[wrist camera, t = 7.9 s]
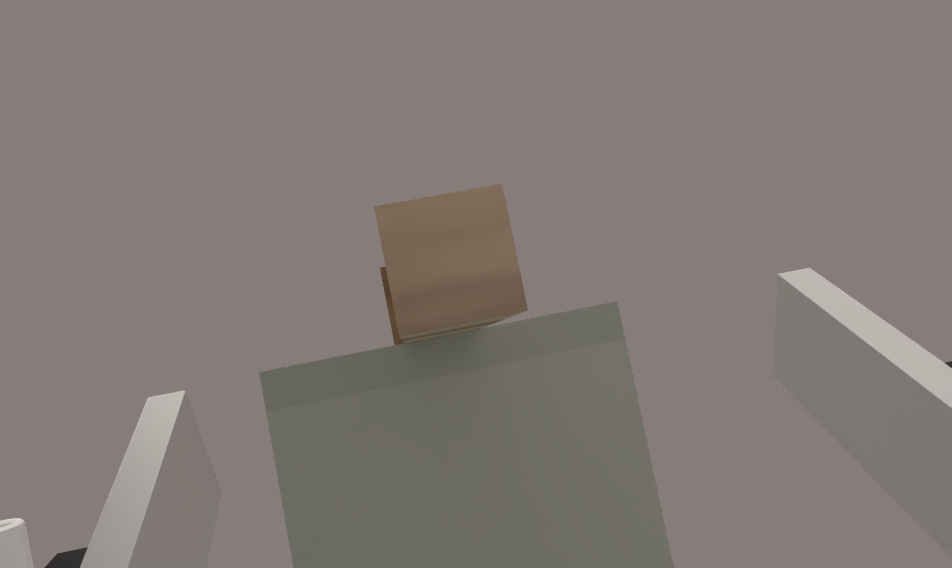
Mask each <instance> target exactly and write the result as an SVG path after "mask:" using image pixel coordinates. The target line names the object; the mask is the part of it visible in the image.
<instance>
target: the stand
mask: <svg viewBox="0 0 952 568" xmlns="http://www.w3.org/2000/svg"><path fill="white" fill-rule="evenodd" d="M259 374H260V379H261V385H262V391H263V397H264V403H265V408H266V414H267V419H268V425H269V430H270V436H271V442H272V448H273V453H274V459H275V465H276V471H277V476H278V482H279V488H280V493H281V499H282V504H283V510H284V516H285V522H286V528H287V533H288V539H289V545H290V550H291V556H292V562H293V566H294V568H674V566H673V561H672V557H671V552H670V547H669V542H668V538H667V533H666V528H665V524H664V519H663V514H662V509H661V505H660V500H659V496H658V491H657V486H656V481H655V477H654V472H653V467H652V463H651V458H650V454H649V449H648V444H647V439H646V435H645V430H644V425H643V420H642V416H641V411H640V407H639V402H638V397H637V392H636V388H635V383H634V379H633V374H632V369H631V364H630V360H629V355H628V350H627V346H626V341H625V337H624V331H623V327H622V322H621V318H620V313H619V308H618V303H617V302H612V303H607V304H602V305H597V306H592V307H587V308H582V309H577V310H572V311H566V312H561V313H556V314H551V315H546V316H541V317H536V318H531V319H526V320H521V321H516V322H511V323H506V324H501V325H496V326H491V327H486V328H481V329H476V330H470V331H465V332H460V333H455V334H450V335H445V336H440V337H435V338H430V339H425V340H420V341H415V342H410V343H405V344H400V345H395V346H390V347H384V348H379V349H374V350H370V351H365V352H359V353H354V354H349V355H344V356H339V357H334V358H329V359H324V360H319V361H314V362H309V363H304V364H298V365H293V366H288V367H283V368H278V369H273V370H268V371H263V372H259Z"/></svg>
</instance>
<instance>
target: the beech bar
mask: <svg viewBox="0 0 952 568" xmlns="http://www.w3.org/2000/svg"><path fill="white" fill-rule="evenodd" d="M374 208H375V212H376V218H377V223H378V229H379V234H380V239H381V244H382V249H383V254H384V260H385V265H386V267H382V268H380V270H381V275H382V281H383V286H384V291H385V296H386V302H387V307H388V312H389V317H390V322H391V328H392V333H393V338H394V344H395V345H400V344H405V343H410V342H415V341H420V340H425V339H430V338H435V337H440V336H445V335H450V334H455V333H460V332H465V331H470V330H476V329H481V328H483V327H486V326H488V325H491V324H494V323H496V322H498V321H501V320H504V319H506V318H509V317H511V316H514V315H517V314H519V313H522V312H525V311H527V310H528V309H527V304H526V300H525V294H524V289H523V284H522V279H521V274H520V270H519V265H518V260H517V255H516V250H515V245H514V240H513V236H512V230H511V226H510V220H509V216H508V211H507V206H506V201H505V196H504V191H503V186H502V184H499V185H493V186H488V187H482V188H476V189H470V190H465V191H459V192H453V193H448V194H443V195H437V196H431V197H425V198H420V199H415V200H409V201H403V202H398V203H392V204H386V205H381V206H375V207H374Z"/></svg>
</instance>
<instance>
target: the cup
mask: <svg viewBox="0 0 952 568" xmlns="http://www.w3.org/2000/svg"><path fill="white" fill-rule="evenodd" d="M0 568H34V567H33V563H32V557H31V552H30V547H29V542H28V537H27V531H26V526H25V522H24V521H23V520H22V519H19V518H16V519H8V520H2V521H0Z"/></svg>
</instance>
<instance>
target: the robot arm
mask: <svg viewBox="0 0 952 568" xmlns="http://www.w3.org/2000/svg"><path fill="white" fill-rule="evenodd" d="M772 377H773V378H774V379H775V380H776V381H777V382H778V383H779V384H780V385H781V386H782V387H783V388H784V389H785V390H786V391H787V392H788V393H789V394H790V395H791V396H792V397H793V398H794V399H795V400H796V401H797V402H798V403H799V404H800V405H801V406H802V407H803V408H804V409H805V410H806V412H808V413H809V415H811V417H812V418H814V420H815V421H816V422H817V423H818V424H819V425H820V426H821V427H822V428H823V429H824V430H825V431H826V432H827V433H828V434H829V435H830V436H831V437H832V438H833V439H834V440H835V441H836V442H837V443H838V444H839V445H840V446H841V447H842V448H843V449H844V450H845V451H846V452H847V453H848V454H849V455H850V456H851V457H852V458H853V459H854V460H855V461H856V462H857V463H858V464H859V465H860V466H861V467H862V468H863V469H864V470H865V471H866V472H867V473H868V474H869V475H870V476H871V477H872V479H873V480H874V481H875V482H876V483H877V484H878V485H879V486H880V487H881V488H882V489H883V490H884V491H886V493H887V494H888V495H889V496H890V497H891V498H892V499H893V500H894V501H895V502H896V503H897V504H898V505H899V506H900V507H901V508H902V509H903V510H904V511H905V512H906V513H907V514H908V515H909V516H910V517H911V518H912V519H913V520H914V521H915V522H916V523H917V524H918V525H919V526H920V527H921V528H922V529H923V530H924V531H925V532H926V533H927V534H928V535H929V536H930V537H931V538H932V539H933V540H934V541H935V542H936V543H937V544H938V545H939V547H940V548H941V549H943V551H944V552H945V553H946V554H947V555H949V557H950V558H952V361H951V362H946V363H944V362H942V361H941V360H939V359H938V358H936V357H935V356H934V355H932V354H931V353H929V352H928V351H927V350H925V349H924V348H922V347H921V346H920V345H918V344H917V343H915V342H914V341H912V340H911V339H909V338H908V337H907V336H905V335H904V334H902V333H901V332H900V331H898V330H897V329H895V328H894V327H893V326H891V325H890V324H888V323H887V322H885V321H884V320H883V319H881V318H880V317H878V316H877V315H875V314H874V313H873V312H871V311H870V310H869V309H867V308H866V307H864V306H863V305H861V304H860V303H859V302H857V301H856V300H854V299H853V298H852V297H850V296H849V295H847V294H846V293H844V292H843V291H842V290H840V289H839V288H837V287H836V286H835V285H833V284H831V283H830V282H829V281H827V280H826V279H825V278H823V277H822V276H820V275H819V274H818V273H816V272H815V271H813V270H812V269H810V268H806V269H801V270H796V271H791V272H786V273H781V274H778V277H777V296H776V316H775V335H774V354H773V374H772ZM220 497H221V490H220V487H219V484H218V481H217V478H216V475H215V473H214V470H213V467H212V464H211V461H210V458H209V456H208V453H207V450H206V447H205V444H204V442H203V439H202V436H201V433H200V430H199V427H198V424H197V422H196V419H195V416H194V413H193V410H192V408H191V405H190V402H189V399H188V396H187V393H186V391H185V390H184V391H179V392H174V393H169V394H164V395H159V396H154V397H148V399H147V402H146V404H145V406H144V409H143V411H142V414H141V416H140V419H139V421H138V424H137V426H136V429H135V431H134V434H133V436H132V439H131V442H130V444H129V446H128V449H127V451H126V454H125V456H124V459H123V461H122V464H121V467H120V469H119V471H118V474H117V476H116V479H115V481H114V484H113V486H112V489H111V491H110V494H109V496H108V499H107V501H106V504H105V506H104V509H103V511H102V514H101V516H100V519H99V521H98V524H97V526H96V529H95V531H94V533H93V536H92V539H91V541H90V543H89V546H88V547H87V548H82V549H77V550H73V551H68V552H63V553H59V554H57V555H56V556H55V557H54V558H53V559H52V560H51V561H50V562H49V564H48V565H47V566H46V567H45V568H206V566H207V562H208V557H209V552H210V547H211V541H212V537H213V532H214V527H215V522H216V517H217V512H218V507H219V502H220Z"/></svg>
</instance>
